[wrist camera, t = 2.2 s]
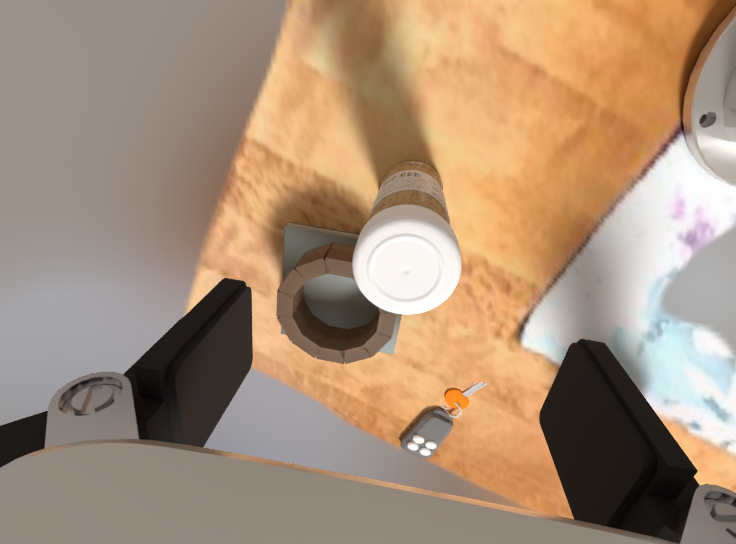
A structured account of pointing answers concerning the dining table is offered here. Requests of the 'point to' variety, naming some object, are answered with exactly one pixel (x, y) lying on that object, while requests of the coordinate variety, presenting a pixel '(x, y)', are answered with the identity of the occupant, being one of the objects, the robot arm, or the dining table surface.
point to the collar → (329, 299)
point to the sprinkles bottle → (408, 243)
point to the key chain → (436, 424)
